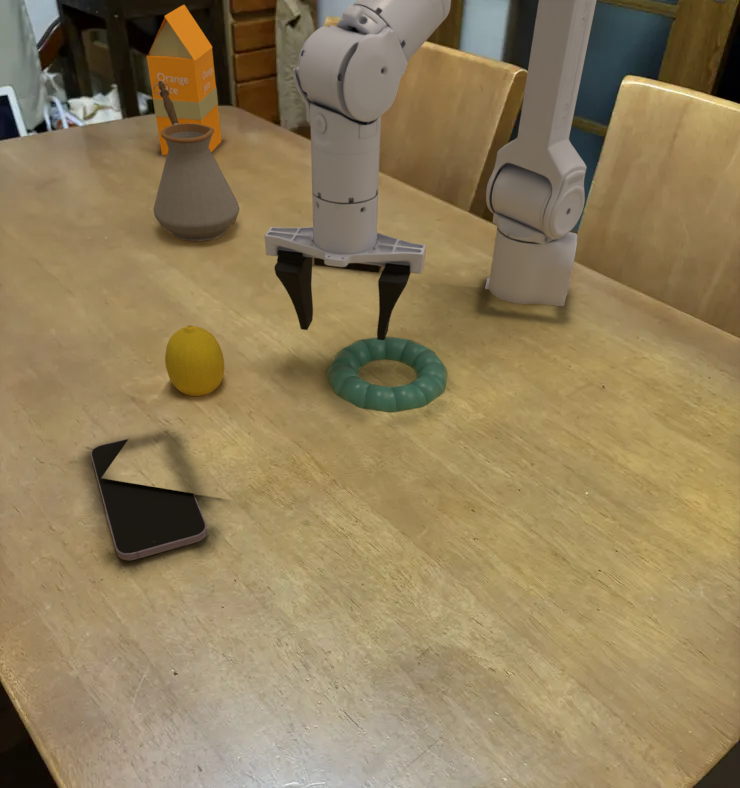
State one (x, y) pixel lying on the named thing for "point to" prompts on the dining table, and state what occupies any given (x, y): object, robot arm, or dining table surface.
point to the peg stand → (352, 265)
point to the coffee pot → (192, 182)
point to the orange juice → (184, 75)
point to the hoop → (385, 397)
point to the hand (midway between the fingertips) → (344, 329)
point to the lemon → (194, 361)
